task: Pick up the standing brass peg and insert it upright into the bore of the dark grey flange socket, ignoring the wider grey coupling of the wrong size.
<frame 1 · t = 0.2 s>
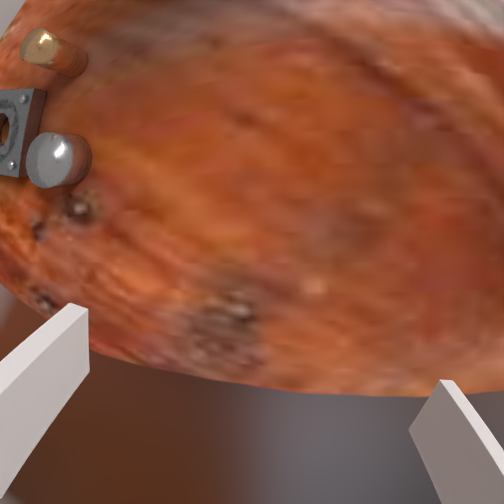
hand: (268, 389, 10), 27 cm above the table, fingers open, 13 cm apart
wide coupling: (71, 159, 35), on the table
brass peg: (75, 63, 31), on the table
flange socket: (11, 131, 34), on the table
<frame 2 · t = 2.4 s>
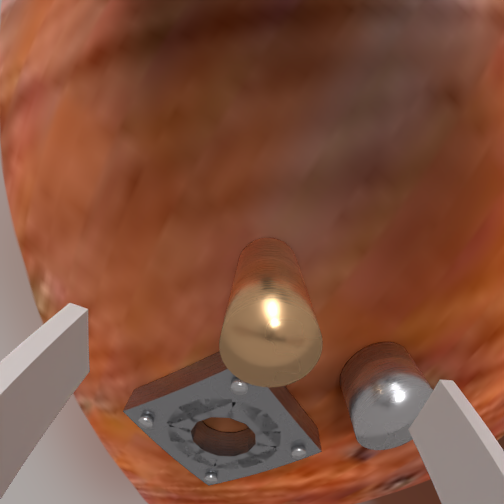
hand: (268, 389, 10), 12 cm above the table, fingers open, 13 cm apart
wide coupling: (376, 373, 24), on the table
brass peg: (267, 266, 22), on the table
flange socket: (226, 414, 25), on the table
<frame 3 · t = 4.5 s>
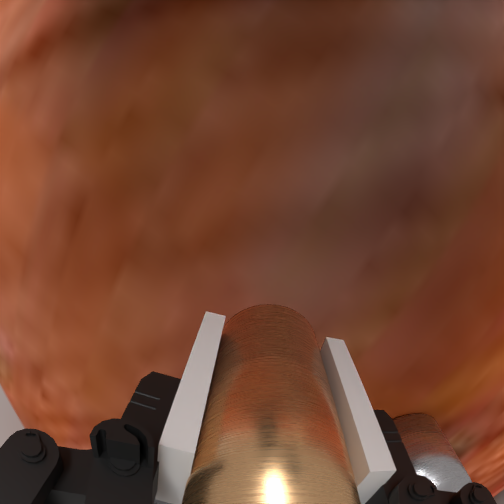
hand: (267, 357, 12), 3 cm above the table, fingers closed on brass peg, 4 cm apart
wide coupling: (396, 446, 17), on the table
brass peg: (267, 348, 13), point 2 cm above the table, touching gripper
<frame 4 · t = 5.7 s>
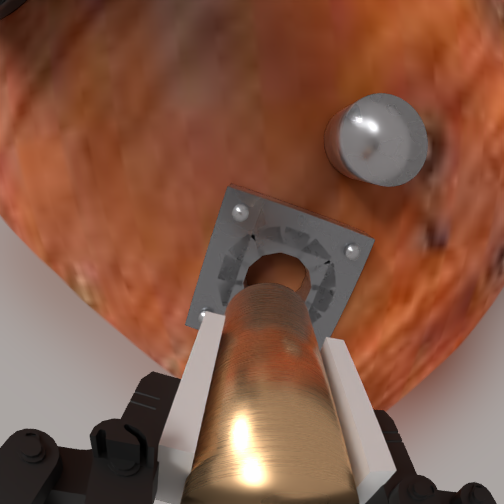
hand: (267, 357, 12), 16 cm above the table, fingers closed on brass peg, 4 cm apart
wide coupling: (360, 142, 25), on the table
brass peg: (266, 322, 15), point 13 cm above the table, touching gripper
flange socket: (275, 272, 28), on the table
when the fingers open (5 cm above the table, at t = 7.5 s): brass peg drops 2 cm, resting in flange socket.
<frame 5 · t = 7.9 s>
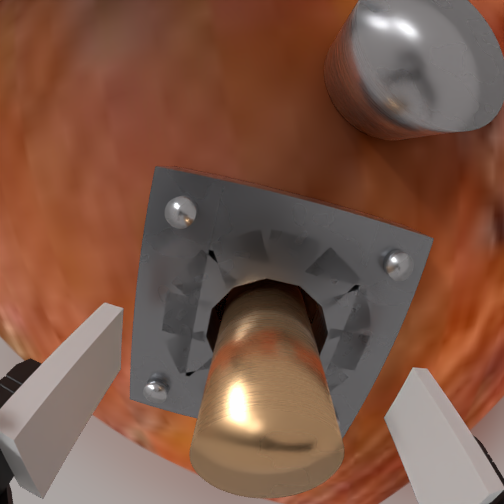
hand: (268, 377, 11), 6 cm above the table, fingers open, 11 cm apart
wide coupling: (384, 80, 13), on the table
brass peg: (264, 306, 16), resting in flange socket
flange socket: (266, 307, 16), on the table
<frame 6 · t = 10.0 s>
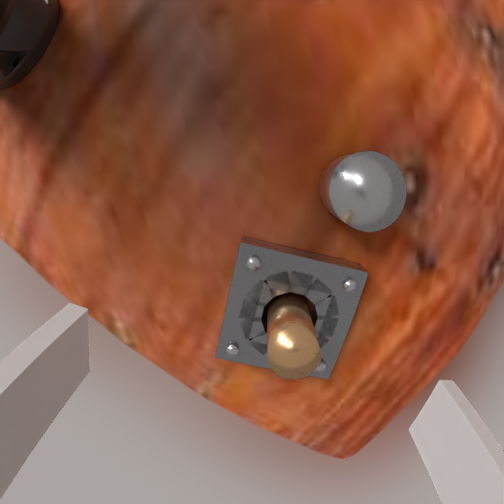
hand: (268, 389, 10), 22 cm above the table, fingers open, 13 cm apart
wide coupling: (350, 188, 29), on the table
brass peg: (286, 305, 32), resting in flange socket
flange socket: (287, 306, 32), on the table
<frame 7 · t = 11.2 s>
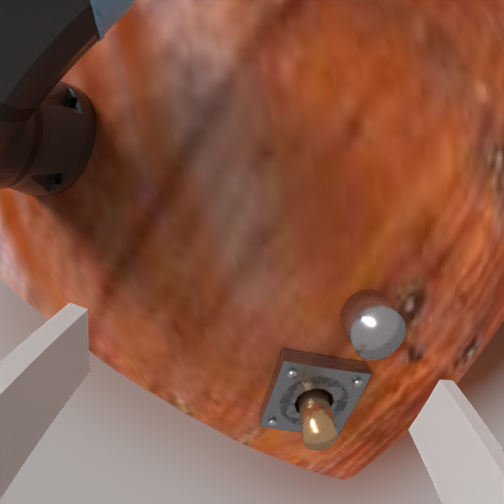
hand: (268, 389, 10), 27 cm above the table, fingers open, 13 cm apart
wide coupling: (365, 313, 38), on the table
brass peg: (311, 389, 41), resting in flange socket
flange socket: (311, 389, 41), on the table
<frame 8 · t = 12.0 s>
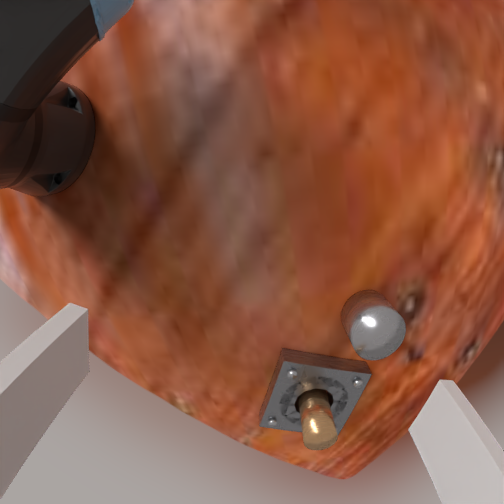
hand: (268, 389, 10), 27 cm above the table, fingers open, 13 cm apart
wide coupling: (365, 313, 38), on the table
brass peg: (310, 389, 41), resting in flange socket
flange socket: (311, 389, 41), on the table
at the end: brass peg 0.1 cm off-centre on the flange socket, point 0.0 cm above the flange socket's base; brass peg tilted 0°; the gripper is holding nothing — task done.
